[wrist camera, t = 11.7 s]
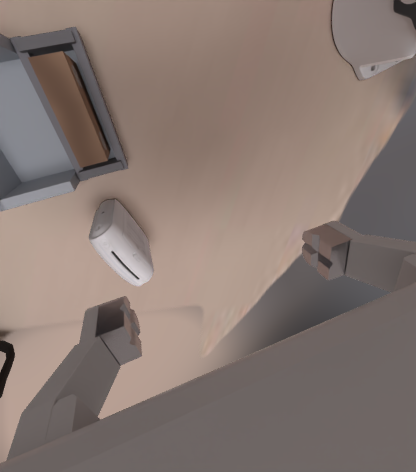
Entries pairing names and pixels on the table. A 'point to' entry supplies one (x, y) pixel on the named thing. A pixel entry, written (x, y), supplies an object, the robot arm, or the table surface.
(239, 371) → the robot arm
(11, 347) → the mug
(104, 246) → the photo printer
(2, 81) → the cabinet
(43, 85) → the brown rectangular block
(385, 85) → the table surface
